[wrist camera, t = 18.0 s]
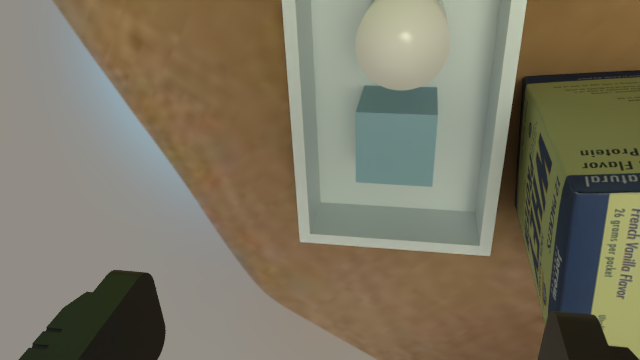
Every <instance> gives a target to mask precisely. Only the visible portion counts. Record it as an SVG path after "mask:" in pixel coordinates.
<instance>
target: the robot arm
mask: <svg viewBox="0 0 640 360" xmlns="http://www.w3.org/2000/svg"><path fill="white" fill-rule="evenodd" d="M164 340H165V323H164V319H163V315H162V311H161V307H160V303H159V299H158V295H157V292H156V287H155V284H154V280H153V278H152V276H151V275H150V274H149V273H143V272H133V271H122V270H113V271H111V272H110V273H109V274H108V275H107V276H106V277H105V278H104V279H103V281H102V282H101V283H100V284H99V285H98V287H97V288H96V289H95V290H94V292H86V293H84V294H83V295H81V296H80V297H78V298H77V299H75V300H74V301H73V302H71V303H70V304H68V305H67V306H65V307H64V308H63V309H62V310H61V311H60V312H59V313H58V315H57V316H56V317H55V318H54V319H53V321H52V322H51V323H50V324H49V325H48V326H47V330H46V331H43V332H42V333H41V334H40V336H39V337H38V338H37V339H36V340H35V341H34V342H33V346H32V348H28V350H27V351H26V352H25V353H24V354H23V355H22V356H21V358H20V359H19V360H157V359H158V357H159V356H160V353H161V351H162V348H163V345H164ZM538 360H639V359H638V358H637V356H636V355H635V354H634V353H633V352H632V351H631V350H630V349H629V348H628V347H618V346H609V345H608V343H607V340H606V338H605V335H604V333H603V330H602V327H601V325H600V322H599V320H598V318H597V317H596V316H595V315H592V314H581V313H570V312H559V311H551V312H550V313H549V315H548V317H547V321H546V326H545V330H544V335H543V339H542V343H541V348H540V352H539V357H538Z"/></svg>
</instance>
